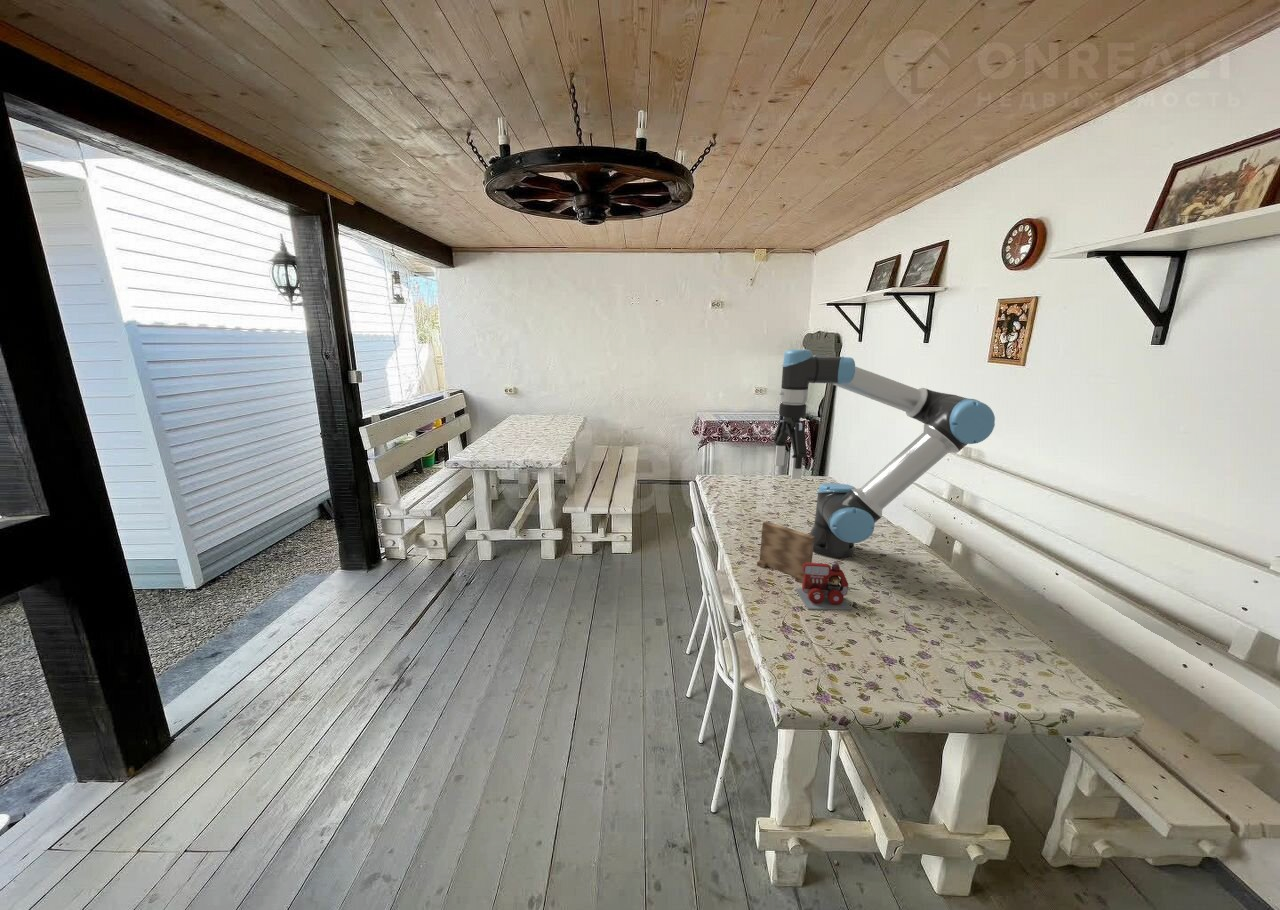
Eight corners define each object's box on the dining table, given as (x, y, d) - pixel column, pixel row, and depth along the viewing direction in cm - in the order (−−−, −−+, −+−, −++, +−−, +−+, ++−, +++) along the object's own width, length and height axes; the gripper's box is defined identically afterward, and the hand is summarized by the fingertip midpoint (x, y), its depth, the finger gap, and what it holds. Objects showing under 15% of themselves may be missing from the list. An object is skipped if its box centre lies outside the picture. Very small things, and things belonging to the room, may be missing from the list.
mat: (836, 589, 135) (836, 588, 135) (852, 609, 125) (852, 608, 125) (795, 589, 135) (795, 588, 135) (807, 609, 125) (807, 608, 125)
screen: (756, 565, 149) (759, 524, 145) (765, 558, 153) (769, 519, 149) (803, 583, 138) (808, 540, 134) (812, 576, 142) (817, 534, 138)
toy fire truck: (850, 606, 126) (855, 572, 123) (802, 603, 127) (806, 568, 125) (842, 592, 133) (846, 559, 130) (797, 589, 134) (801, 556, 131)
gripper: (766, 397, 149) (762, 460, 154) (797, 410, 125) (790, 484, 130) (789, 397, 150) (784, 460, 155) (824, 409, 125) (816, 484, 131)
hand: (787, 471), depth 143 cm, fingers open, 13 cm apart
